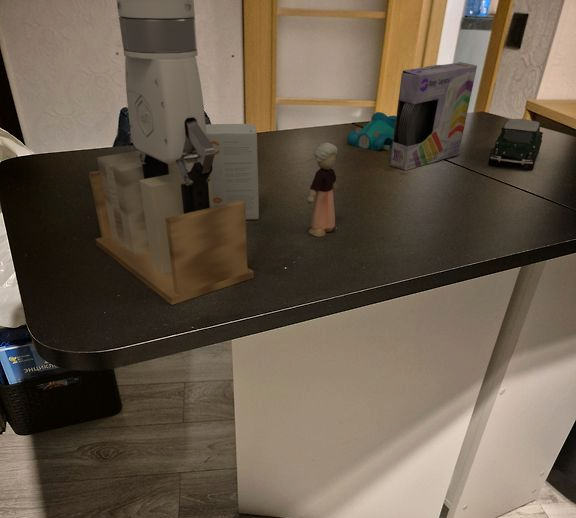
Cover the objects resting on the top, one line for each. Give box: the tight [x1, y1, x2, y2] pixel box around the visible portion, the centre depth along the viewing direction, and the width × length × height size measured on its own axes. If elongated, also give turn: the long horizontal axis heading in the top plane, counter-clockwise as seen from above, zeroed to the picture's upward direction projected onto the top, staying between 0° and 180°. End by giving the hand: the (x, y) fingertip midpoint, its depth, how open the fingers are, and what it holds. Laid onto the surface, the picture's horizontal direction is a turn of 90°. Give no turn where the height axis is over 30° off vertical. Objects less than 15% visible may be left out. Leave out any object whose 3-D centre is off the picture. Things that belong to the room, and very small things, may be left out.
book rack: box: [88, 150, 255, 306], centre depth 70 cm, size 12×22×12 cm, turn 39°
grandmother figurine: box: [306, 142, 338, 238], centre depth 79 cm, size 8×4×13 cm, turn 158°
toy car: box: [346, 111, 397, 152], centre depth 126 cm, size 11×18×7 cm, turn 137°
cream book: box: [139, 170, 213, 275], centre depth 68 cm, size 8×3×11 cm, turn 129°
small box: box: [206, 123, 260, 221], centre depth 84 cm, size 8×6×13 cm
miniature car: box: [487, 118, 544, 171], centre depth 115 cm, size 9×18×8 cm, turn 155°
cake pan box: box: [389, 61, 478, 171], centre depth 110 cm, size 19×5×18 cm, turn 129°
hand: (177, 205), depth 66 cm, fingers open, 9 cm apart
